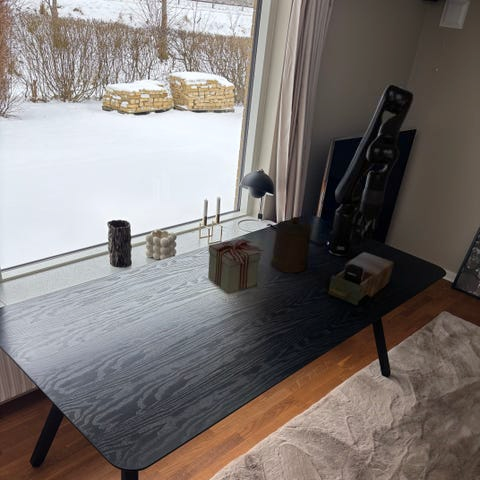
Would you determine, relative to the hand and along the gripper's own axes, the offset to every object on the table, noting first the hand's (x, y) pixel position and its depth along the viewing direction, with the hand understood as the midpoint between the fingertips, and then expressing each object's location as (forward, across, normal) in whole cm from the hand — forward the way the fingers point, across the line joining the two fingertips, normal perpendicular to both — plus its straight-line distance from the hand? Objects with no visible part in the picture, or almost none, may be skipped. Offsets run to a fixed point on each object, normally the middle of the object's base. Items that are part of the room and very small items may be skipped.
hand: (362, 241), depth 185 cm
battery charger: (+20, -5, -2) cm, 21 cm away
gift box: (+22, -30, +37) cm, 52 cm away
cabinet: (+22, +10, -1) cm, 24 cm away
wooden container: (+22, 0, +32) cm, 39 cm away
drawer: (+21, -6, -2) cm, 22 cm away
